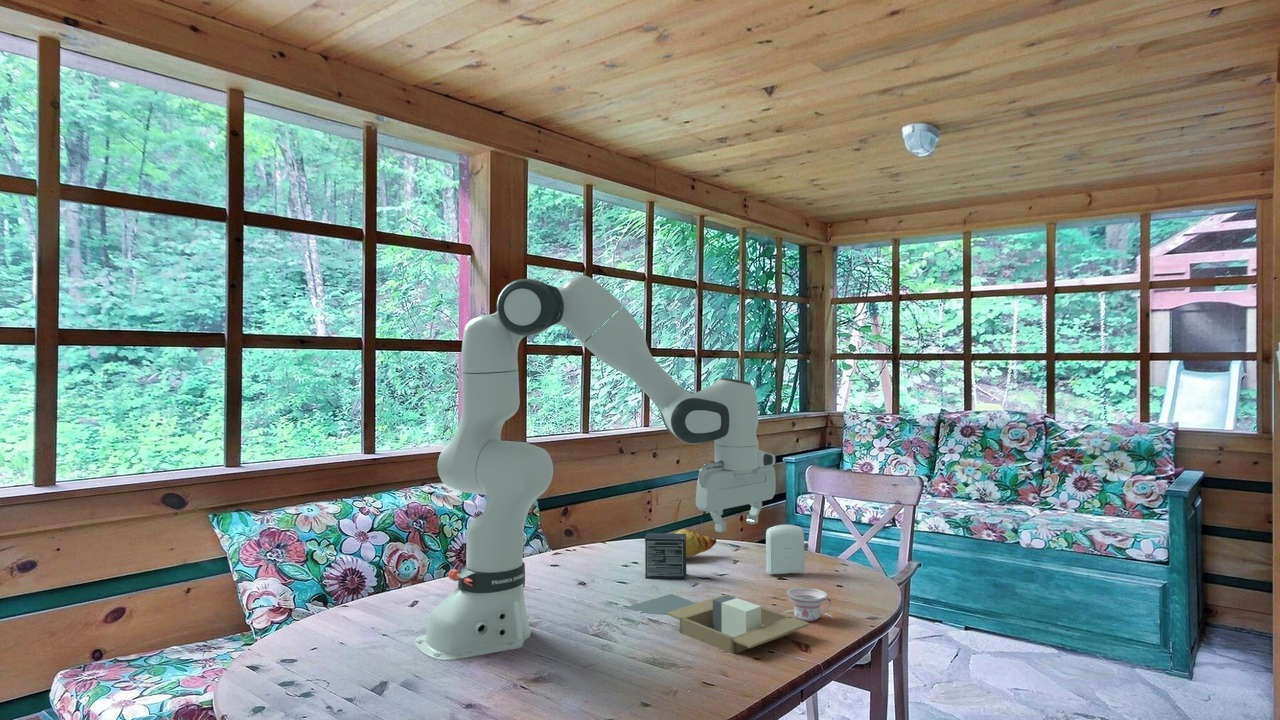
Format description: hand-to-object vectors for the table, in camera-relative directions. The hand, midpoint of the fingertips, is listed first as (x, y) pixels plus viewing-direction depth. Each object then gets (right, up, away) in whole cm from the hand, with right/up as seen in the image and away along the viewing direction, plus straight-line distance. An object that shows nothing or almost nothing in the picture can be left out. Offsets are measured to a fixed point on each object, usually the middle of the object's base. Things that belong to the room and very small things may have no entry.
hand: (736, 527), depth 145 cm
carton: (0, -22, 0) cm, 22 cm away
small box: (-13, -22, +42) cm, 49 cm away
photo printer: (+19, -22, +45) cm, 53 cm away
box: (0, -22, 0) cm, 22 cm away
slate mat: (-13, -22, +16) cm, 30 cm away
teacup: (+16, -23, +9) cm, 29 cm away
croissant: (-8, -22, +63) cm, 67 cm away
